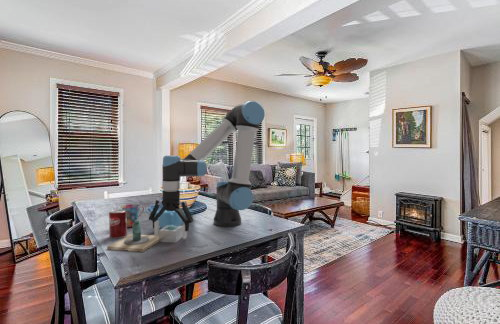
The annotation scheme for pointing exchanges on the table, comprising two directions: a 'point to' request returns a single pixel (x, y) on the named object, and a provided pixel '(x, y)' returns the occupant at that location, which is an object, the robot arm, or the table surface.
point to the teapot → (169, 219)
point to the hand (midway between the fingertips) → (170, 236)
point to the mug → (132, 213)
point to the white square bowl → (170, 234)
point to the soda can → (118, 223)
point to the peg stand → (135, 240)
